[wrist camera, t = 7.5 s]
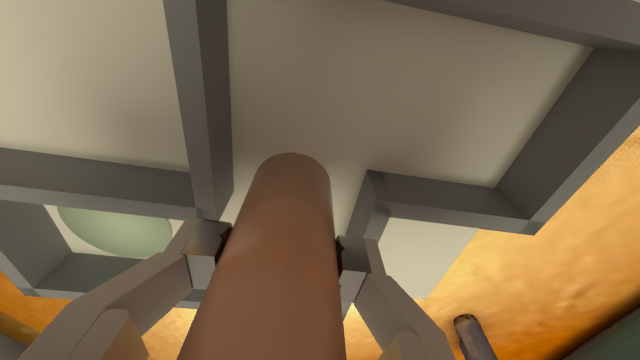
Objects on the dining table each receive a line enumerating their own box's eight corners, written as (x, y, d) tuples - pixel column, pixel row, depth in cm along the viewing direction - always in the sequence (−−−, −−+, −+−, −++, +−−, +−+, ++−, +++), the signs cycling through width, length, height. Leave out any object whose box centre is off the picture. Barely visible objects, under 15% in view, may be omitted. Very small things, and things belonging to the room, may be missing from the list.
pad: (162, 188, 15) (159, 191, 15) (179, 258, 19) (177, 261, 18) (40, 173, 14) (35, 175, 14) (84, 249, 18) (81, 252, 18)
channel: (622, 0, 11) (771, -13, 7) (420, 287, 23) (439, 334, 20) (-189, -202, 8) (-619, -395, 4) (81, 254, 20) (31, 303, 17)
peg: (338, 159, 11) (399, 537, 3) (323, 219, 13) (333, 537, 5) (254, 146, 11) (45, 545, 2) (252, 210, 13) (137, 542, 5)
